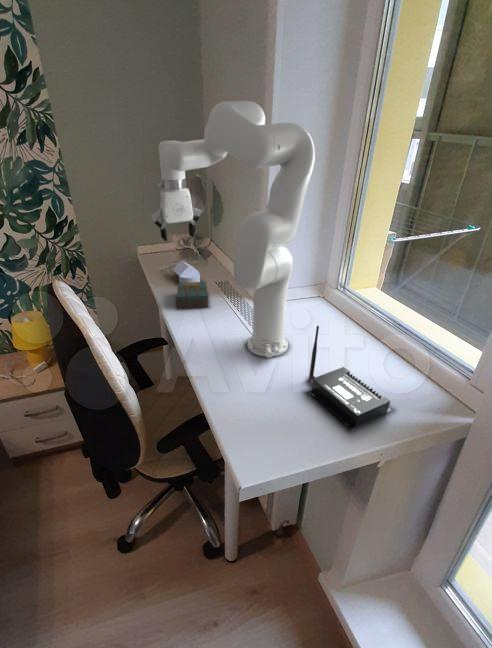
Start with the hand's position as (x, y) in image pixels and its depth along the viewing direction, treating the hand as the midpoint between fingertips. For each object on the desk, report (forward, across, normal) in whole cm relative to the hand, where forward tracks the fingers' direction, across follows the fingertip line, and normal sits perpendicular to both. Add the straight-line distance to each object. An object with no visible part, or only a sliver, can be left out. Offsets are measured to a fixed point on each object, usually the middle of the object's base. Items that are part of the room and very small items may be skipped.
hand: (178, 238), depth 131 cm
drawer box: (+25, +4, +1) cm, 26 cm away
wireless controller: (+25, +20, -69) cm, 76 cm away
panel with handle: (+21, +4, +1) cm, 22 cm away
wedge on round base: (+26, +9, +21) cm, 35 cm away
